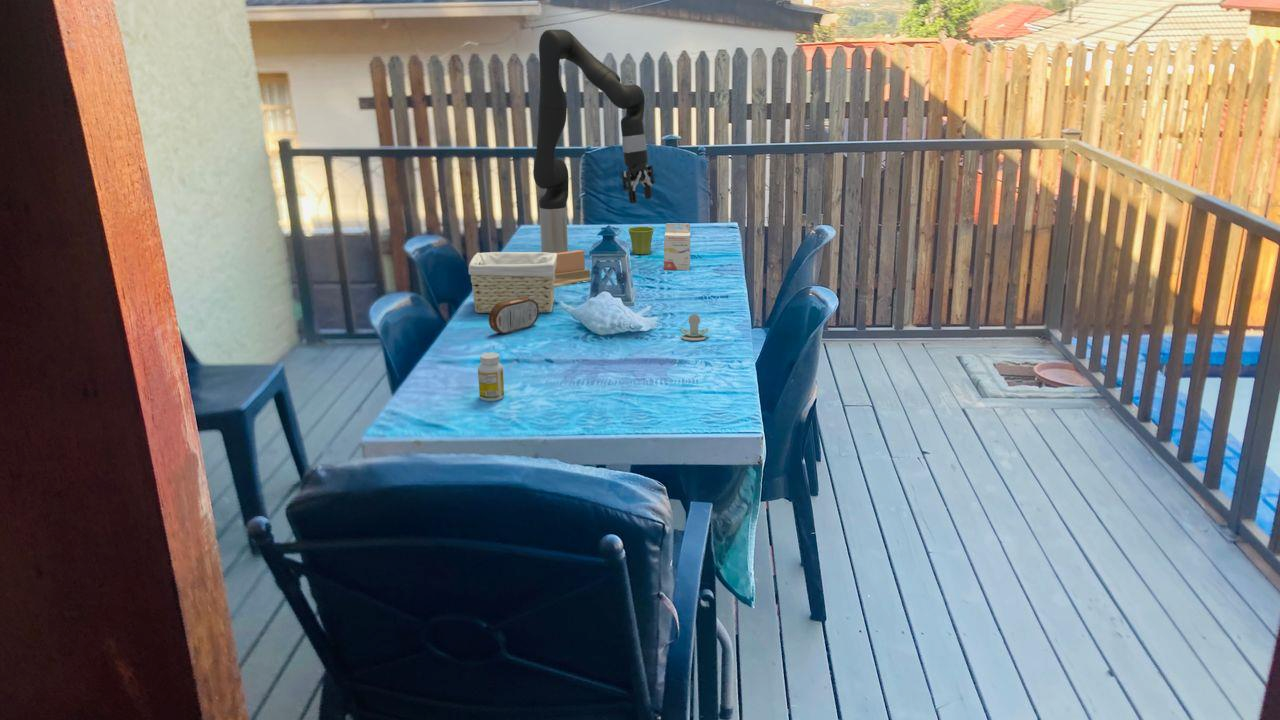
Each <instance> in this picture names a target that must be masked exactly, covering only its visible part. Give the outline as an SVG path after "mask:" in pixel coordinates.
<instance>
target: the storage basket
mask: <svg viewBox="0 0 1280 720" xmlns="http://www.w3.org/2000/svg"><path fill="white" fill-rule="evenodd" d="M556 264H557V254H556V253H547V252H542V251H539V252H538V251H528V252H527V251H522V252H521V251H520V252H519V251H518V252H517V251H516V252H515V251H510V252H509V251H490V252H476V254H474V256H473V257H472V258H471V260H470V262H469V264H468V275H469V276H470V283H471V284H472V285H471V289H472V298H473V304H474V310H475V313H477V314H490V312H491V310H492V308H493V307H494V306H495V305H496V304H497V303H499V302H502V301H507V300H512V299H516V298H520V297H528V298H530V299H532V300H534V301H535V302H536V303H537V304H538V308H539V313H538V314H540V313H541V314H542V313H552V310H553V307H554V303H555V287H554V286H555V283H554V281H555V275H554V274H555V268H556Z"/></svg>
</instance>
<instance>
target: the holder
mask: <svg viewBox="0 0 1280 720" xmlns="http://www.w3.org/2000/svg"><path fill="white" fill-rule="evenodd" d="M554 275H555V281H554V283H555V286H554V288H558V287H563V286H564V285H565V286H570V285H569V284H572V283H577V282H583V281H588V280H590V278H591V269H588V268H587V269H585V270H580V271H573V272H566V273H559V274H554ZM572 285H573V284H572ZM565 286H564V287H565Z"/></svg>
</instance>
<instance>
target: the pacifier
mask: <svg viewBox="0 0 1280 720" xmlns="http://www.w3.org/2000/svg"><path fill="white" fill-rule="evenodd" d="M687 322H688V324H689V329H687V328H684V327H680V328H679V331H680V333H682V334H683V335H681V337H680V338H681V339H682V340H684V341H690V342H698V341H699V342H700V341H705V340H706V339H707V337H706V335H705V334H706V333H708V331H709V328H707V327H706V328H702V329H700V330H699V325H700V323H701V317H700V316H699V314H697V313H692V314H690V315H689V317H688V321H687Z"/></svg>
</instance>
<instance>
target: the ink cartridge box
mask: <svg viewBox="0 0 1280 720" xmlns="http://www.w3.org/2000/svg"><path fill="white" fill-rule="evenodd" d="M676 227H680V228H676ZM691 234H692V233H691V224H690V223H677V222H676V223H675V222H674V223H672V222H671V223H670V222H669V223H668V222H667V223H666V224H665V233H664V239H663V240H664V241H663V242H664V243H663V270H664V271H666V270H668V271H690V266H691V236H692V235H691Z"/></svg>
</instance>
